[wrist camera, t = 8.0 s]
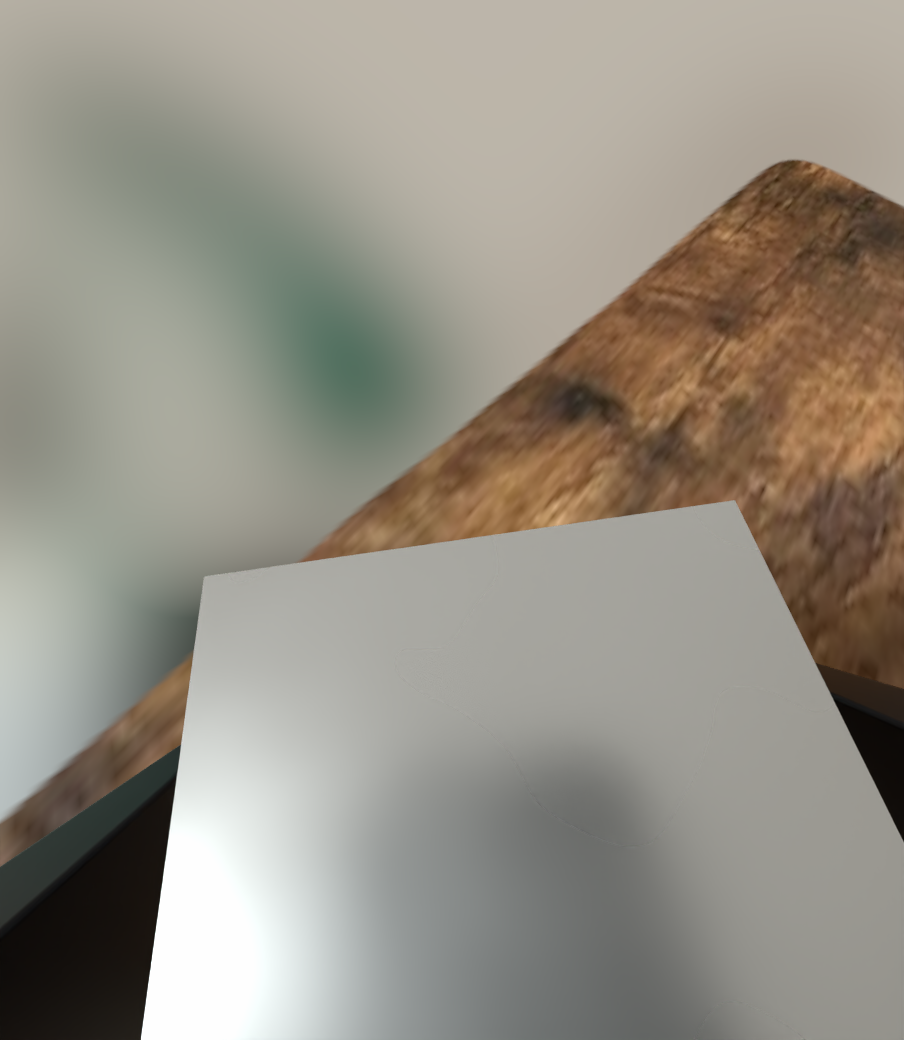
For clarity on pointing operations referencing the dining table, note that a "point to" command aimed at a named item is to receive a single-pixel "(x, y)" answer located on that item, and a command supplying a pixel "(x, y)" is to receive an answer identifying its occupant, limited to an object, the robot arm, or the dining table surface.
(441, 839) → the brushed steel block
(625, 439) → the dining table surface
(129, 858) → the robot arm
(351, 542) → the dining table surface
